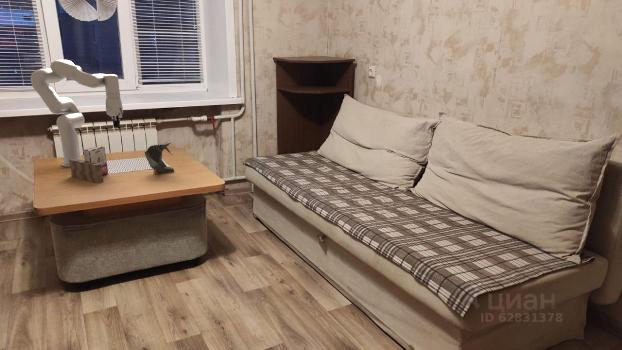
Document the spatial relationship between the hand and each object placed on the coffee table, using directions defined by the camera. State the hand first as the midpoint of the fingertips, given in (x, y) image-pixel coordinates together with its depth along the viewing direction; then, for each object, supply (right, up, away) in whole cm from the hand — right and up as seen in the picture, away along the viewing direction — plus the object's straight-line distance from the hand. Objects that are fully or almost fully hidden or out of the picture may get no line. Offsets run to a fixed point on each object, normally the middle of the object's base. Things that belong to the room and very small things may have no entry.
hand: (116, 126), depth 266 cm
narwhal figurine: (+28, -28, -4) cm, 39 cm away
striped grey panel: (-9, -31, -18) cm, 37 cm away
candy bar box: (-6, -30, -12) cm, 33 cm away
